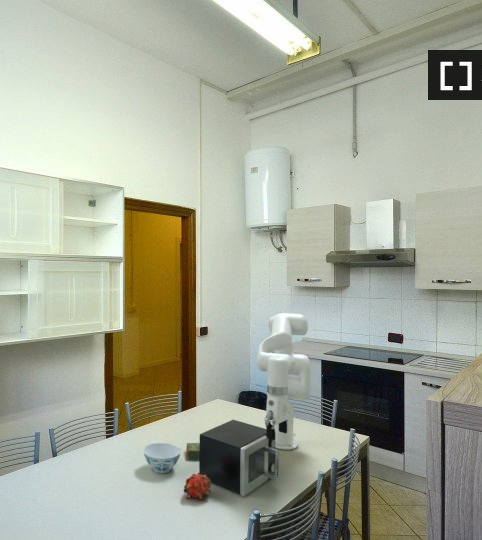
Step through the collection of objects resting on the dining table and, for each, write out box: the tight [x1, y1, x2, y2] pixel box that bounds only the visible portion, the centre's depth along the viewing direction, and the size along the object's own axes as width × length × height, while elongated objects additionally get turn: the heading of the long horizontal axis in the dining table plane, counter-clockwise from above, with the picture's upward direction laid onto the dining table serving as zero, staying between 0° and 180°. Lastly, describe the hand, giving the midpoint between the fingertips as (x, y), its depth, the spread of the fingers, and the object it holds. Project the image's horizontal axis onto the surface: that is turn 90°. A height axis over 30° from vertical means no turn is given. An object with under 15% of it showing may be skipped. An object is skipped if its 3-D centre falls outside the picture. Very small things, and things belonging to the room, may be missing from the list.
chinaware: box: [143, 442, 182, 474], centre depth 174 cm, size 15×15×8 cm
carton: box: [185, 442, 200, 461], centre depth 187 cm, size 8×16×4 cm, turn 88°
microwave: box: [198, 419, 276, 496], centre depth 168 cm, size 20×24×17 cm
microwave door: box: [239, 435, 280, 497], centre depth 158 cm, size 7×18×17 cm, turn 136°
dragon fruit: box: [183, 472, 212, 500], centre depth 153 cm, size 8×8×12 cm
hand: (276, 435), depth 162 cm, fingers open, 9 cm apart
